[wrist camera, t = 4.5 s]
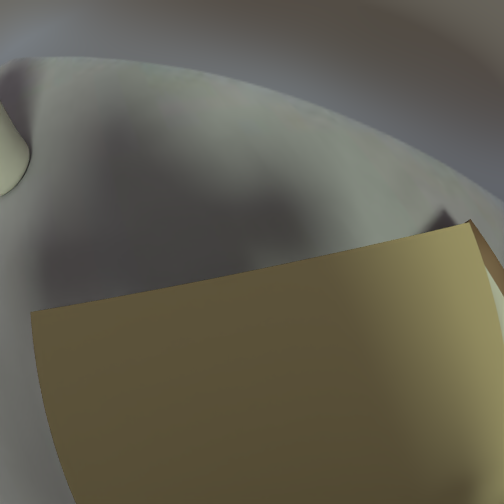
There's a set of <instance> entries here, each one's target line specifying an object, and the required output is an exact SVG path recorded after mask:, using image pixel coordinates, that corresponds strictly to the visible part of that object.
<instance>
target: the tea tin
mask: <svg viewBox="0 0 504 504" xmlns="http://www.w3.org/2000/svg"><path fill="white" fill-rule="evenodd" d="M31 324H32V334H33V343H34V351H35V359H36V365H37V372H38V377H39V383H40V388H41V393H42V398H43V403H44V407H45V411H46V415H47V419H48V423H49V427H50V431H51V434H52V438H53V441H54V445H55V448H56V451H57V454H58V457H59V460H60V463H61V466H62V469H63V472H64V475H65V477H66V480H67V482H68V485H69V488H70V490H71V493H72V495H73V497H74V500H75V502H76V504H504V342H503V337H502V332H501V327H500V322H499V317H498V313H497V309H496V305H495V301H494V297H493V293H492V289H491V286H490V282H489V279H488V275H487V272H486V269H485V266H484V262H483V259H482V256H481V253H480V250H479V248H478V245H477V242H476V239H475V236H474V234H473V231H472V229H471V226H470V223H469V222H468V223H464V224H460V225H456V226H452V227H447V228H443V229H439V230H435V231H430V232H426V233H422V234H418V235H413V236H409V237H405V238H400V239H396V240H391V241H387V242H383V243H378V244H374V245H369V246H365V247H360V248H356V249H351V250H347V251H342V252H337V253H333V254H328V255H324V256H319V257H314V258H310V259H305V260H300V261H295V262H291V263H286V264H281V265H276V266H272V267H267V268H262V269H257V270H252V271H247V272H242V273H238V274H233V275H228V276H223V277H218V278H213V279H208V280H203V281H198V282H192V283H187V284H182V285H177V286H172V287H167V288H161V289H156V290H151V291H146V292H140V293H135V294H130V295H124V296H119V297H113V298H108V299H102V300H97V301H91V302H86V303H80V304H75V305H69V306H63V307H57V308H52V309H46V310H40V311H34V312H31Z"/></svg>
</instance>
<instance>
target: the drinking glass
mask: <svg viewBox="0 0 504 504" xmlns="http://www.w3.org/2000/svg"><path fill="white" fill-rule="evenodd" d="M29 157H30V152H29V147H28V145H27V143H26V142H25V141H24V139H23V138H22V137H21V135H20V134H19V133H18V131H17V129H16V128H15V126H14V124H13V123H12V121H11V119H10V117H9V116H8V114H7V112H6V110H5V108H4V107H3V105H2V103H1V101H0V196H2V195H4V194H6V193H8V192H9V191H10V190H11V189H13V188H14V187H15V186H16V185H17V183H18V182H19V181H20V179H21V178H22V176H23V175H24V173H25V171H26V169H27V166H28V163H29Z"/></svg>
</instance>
